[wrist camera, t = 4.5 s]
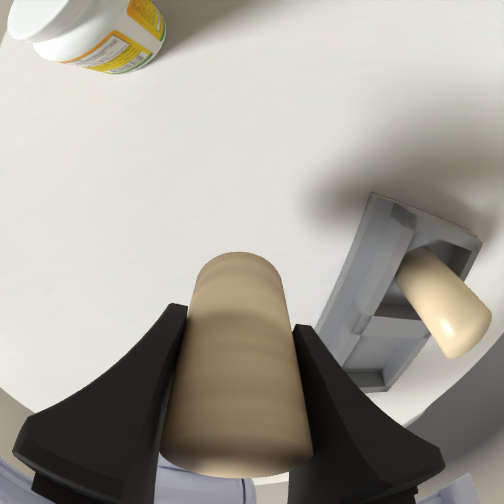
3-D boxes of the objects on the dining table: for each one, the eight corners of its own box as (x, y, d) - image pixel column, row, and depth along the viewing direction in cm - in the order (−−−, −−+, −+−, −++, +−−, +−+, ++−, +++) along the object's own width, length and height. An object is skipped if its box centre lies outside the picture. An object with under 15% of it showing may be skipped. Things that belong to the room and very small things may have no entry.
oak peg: (269, 328, 14) (284, 479, 7) (191, 314, 13) (162, 468, 6) (293, 261, 12) (340, 434, 5) (202, 243, 11) (154, 420, 4)
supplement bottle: (139, 86, 14) (42, 70, 5) (82, 62, 12) (-19, 49, 4) (185, 18, 12) (132, -58, 3) (123, -1, 10) (47, -55, 2)
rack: (388, 371, 27) (414, 433, 19) (293, 368, 25) (306, 449, 17) (471, 231, 19) (535, 284, 11) (371, 192, 17) (451, 252, 9)
